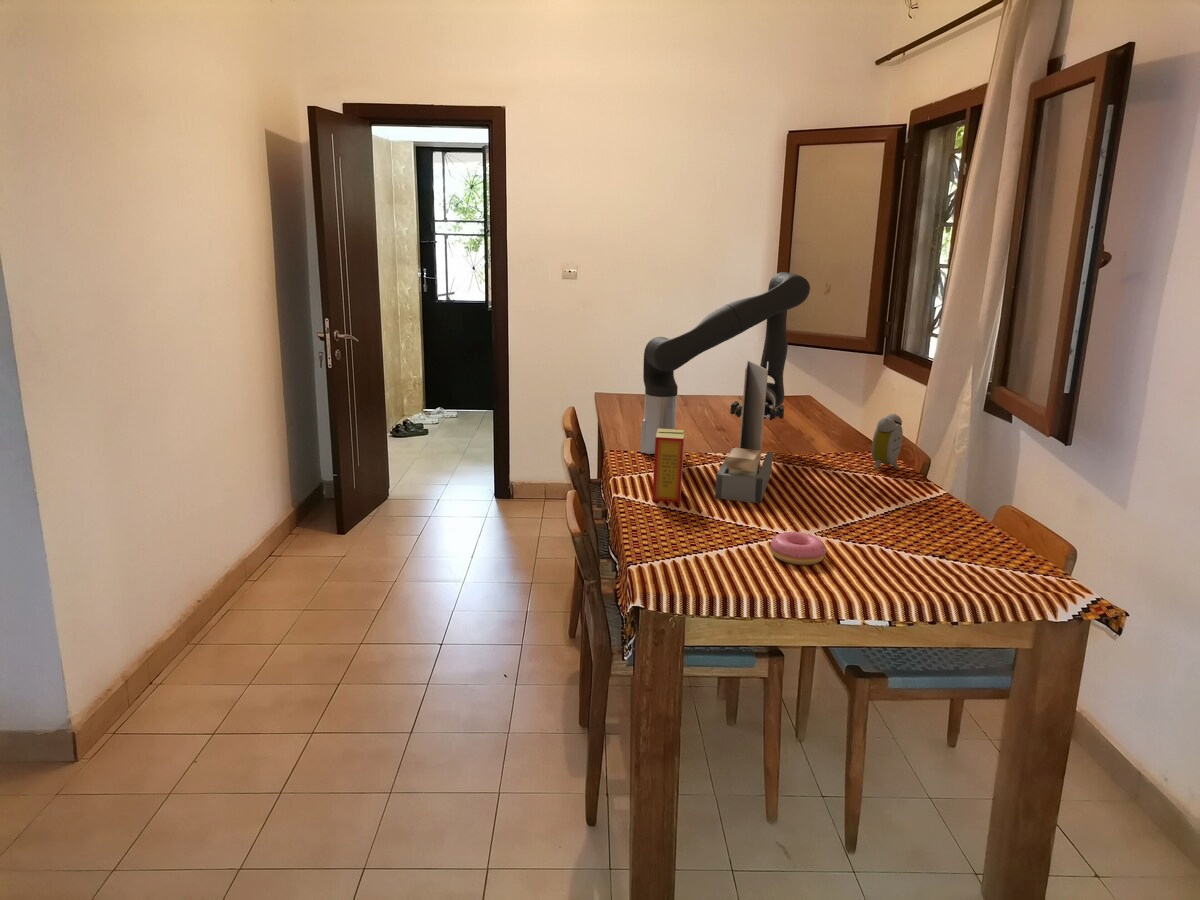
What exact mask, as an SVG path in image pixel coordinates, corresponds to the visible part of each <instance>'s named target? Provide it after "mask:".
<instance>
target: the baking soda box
mask: <svg viewBox="0 0 1200 900" xmlns="http://www.w3.org/2000/svg"><path fill="white" fill-rule="evenodd" d="M685 431H686V429H679V428H678V429H677V428H675V429H663V428H658V430H657V434H656V438H655V455H654V462H653V478H652V479H653V480H652V482H653V484H652V500H655V501H654V502H659V501H669V502H668V503H674V502H680V503H681V497H682V496H681V495H682V480H683V466H684V450H685V449H684V446H685ZM652 500H651V501H652Z"/></svg>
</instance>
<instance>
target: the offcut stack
mask: <svg viewBox="0 0 1200 900" xmlns="http://www.w3.org/2000/svg"><path fill="white" fill-rule="evenodd" d="M728 454H729V453H728ZM728 454H727V456H726V457H727V467H726V468H727V469H729V474H734V475H743V476H751V477H757V476H758V475H757V468H758V463H759V459H760V460H761V458H760V450H752V449H743V448H739V447H734V449H733V450H732V452H731V453H730V454H729V455H728Z"/></svg>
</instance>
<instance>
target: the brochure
mask: <svg viewBox="0 0 1200 900" xmlns="http://www.w3.org/2000/svg"><path fill="white" fill-rule="evenodd" d="M767 382H768V362H767V369H765V368H763V367H761V366H760V364H759V365H758V364H756V363H755V362H753V361H751V360H746V364H745V370H744V383H743V393H742V394H743V395H742V404H743V406H742V415H741V417H740V418H741V421H740V431H739V433H740V434H739V445H738V448H743V449H752V450H760V459H759V463H758V468H757V475H758V473H759V471H760V469H761V456H762V446H763V435H764V424H765V423H764V420H765V419H764V411H765V400H766V388H767Z"/></svg>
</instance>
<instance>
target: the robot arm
mask: <svg viewBox="0 0 1200 900" xmlns="http://www.w3.org/2000/svg"><path fill="white" fill-rule="evenodd" d="M767 289H768V290H767V291H766V292H763V293H761V294H758V295H753V296H750V297H746V298H741V299H738V300H735V301H731V302H729V303H727V304H725V305H722V306H721V307H719V308H717V309H715V310H713V311H711V313H708V314H707V316H705V317H704V318H703V319H702V320H701V321H700V322H699V323H698V324H697V325H696V326H694V327H693V328H692V329H691V330H689V331H687V332H685V333H683V334H680V335H678V336H676V337H672V338H667V337H664V336H655V337H653V338H652V339H650V340H649V341H648V343H647V344H646V345H645V348H644V353H643V372H642V373H643V378H642V379H643V385H644V391H645V392H644V407H643V408H644V409H643V410H644V411H643V412H644V414H643V419H642V421H641V435H640V436H641V437H640V454H641V453H643V454H647V455H650V454H655V438H656V434H657V430H658V428H663V429H676V424H677V422H676V420H677V405H678V403H677V402H678V384H677V382H676V380H675V375H674V372H675V370H678V369H680V368H681V367H682V366H684V365H685V364H687V363H688V362H690V361H691V360H693V359H694V358H695V357H697V356H699V355H700V354H702V353H704V352H706V351H708V350H711V349H713V348H715V347H717V346H719V345H720V344H722V343H724V342H727V341H729V340H731V339H733V338H735V337H737V336H739V335H741V334H743V333H744V332H746V331H748V330H749V329H752V328H754V327H755V326H757V325H759V324H760V323H762V322H764V321H766V327H765V337H764V344H763V349H762V354H761V359H760V364H759V366H761V367H763V368H765V369H767V362H768V376H769V377H771V378H772V379H773V381H774V382H768V381H767V388H766V400H765V411H764V420H765V419H766V420H767V419H769V421H773V420H775V419H777V417H778V418H779V419H781V420H783V419H784V414H785V405H782V404H783V403H784V401H785V387H784V371H785V366H786V360H787V355H788V348H789V347H788V335H787V324H786V323H787V321H786V320H787V313H788V311H789V310H791V309H794V308H796V307H799V306H800V305H801V304H803V303H804V302H805V301H806V300H807V299H808V297H809V294H810V292H811V285H810V283H809V281H808V280H807V278H806V277H804V276H802V275H799V274H796V273H792V272H786V271H781V272H778V273H776V274H775V275H773V276H772V278H771V279H770V281H769V284H768V288H767ZM768 376H767V377H768ZM742 406H743V403H742V404H740V401H738V400H735V401H733V402H732V403H731V404H730V411H729V413H730V415H735V416H736V417H737V418H741V417H742Z"/></svg>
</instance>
